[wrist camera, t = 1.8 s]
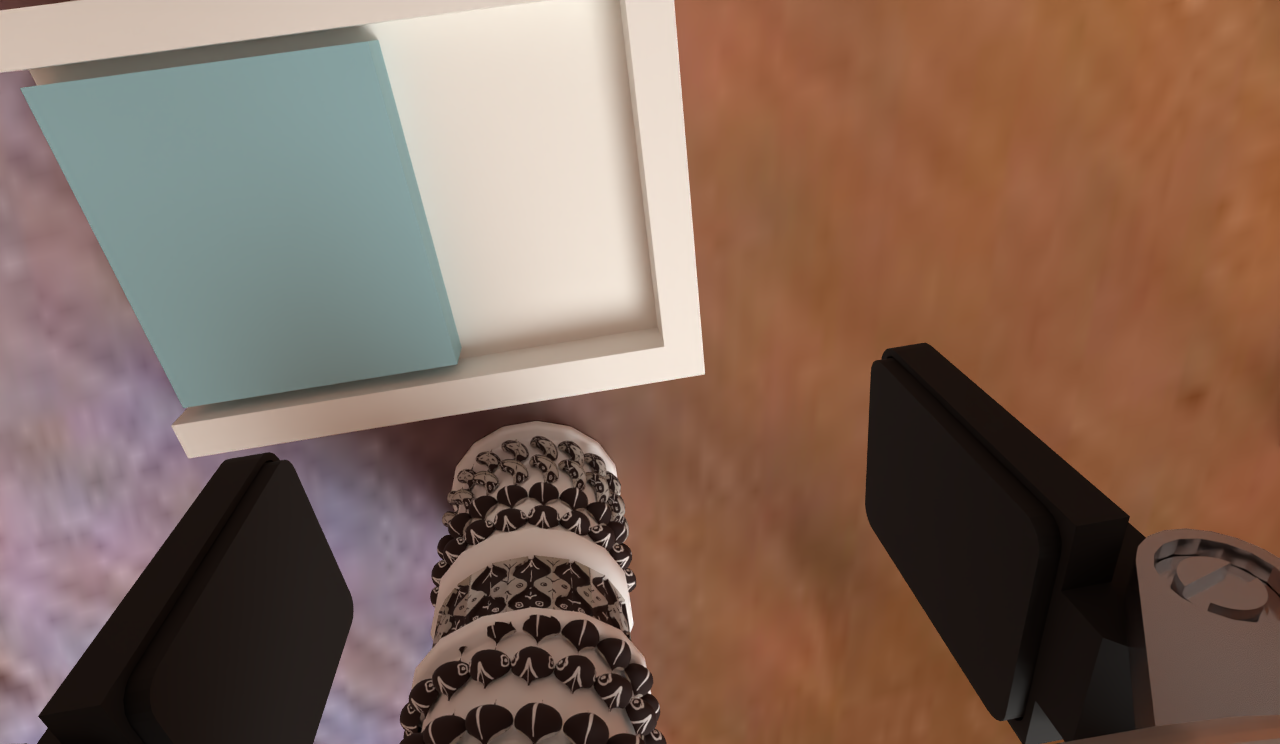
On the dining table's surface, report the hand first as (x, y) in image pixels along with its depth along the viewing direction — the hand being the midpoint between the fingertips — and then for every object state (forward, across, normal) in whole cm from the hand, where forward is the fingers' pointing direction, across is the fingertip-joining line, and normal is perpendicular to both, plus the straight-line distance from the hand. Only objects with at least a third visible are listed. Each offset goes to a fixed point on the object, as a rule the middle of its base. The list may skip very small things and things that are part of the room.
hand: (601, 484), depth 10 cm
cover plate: (+19, +11, 0) cm, 22 cm away
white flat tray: (+20, +7, 0) cm, 21 cm away
